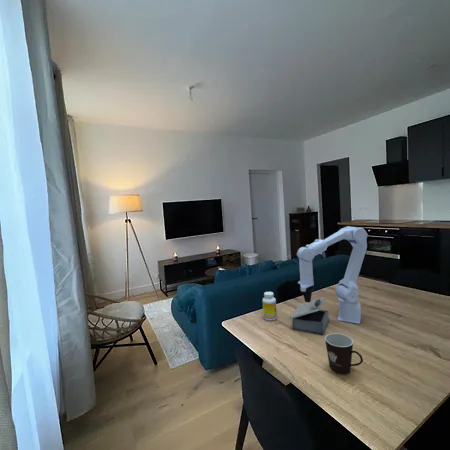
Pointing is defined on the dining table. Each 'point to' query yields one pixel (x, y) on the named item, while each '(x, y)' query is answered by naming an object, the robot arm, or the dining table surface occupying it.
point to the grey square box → (312, 322)
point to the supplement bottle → (269, 306)
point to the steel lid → (308, 307)
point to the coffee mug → (340, 353)
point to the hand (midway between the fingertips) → (307, 301)
